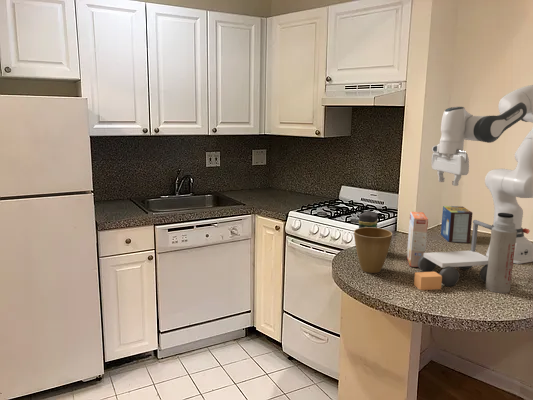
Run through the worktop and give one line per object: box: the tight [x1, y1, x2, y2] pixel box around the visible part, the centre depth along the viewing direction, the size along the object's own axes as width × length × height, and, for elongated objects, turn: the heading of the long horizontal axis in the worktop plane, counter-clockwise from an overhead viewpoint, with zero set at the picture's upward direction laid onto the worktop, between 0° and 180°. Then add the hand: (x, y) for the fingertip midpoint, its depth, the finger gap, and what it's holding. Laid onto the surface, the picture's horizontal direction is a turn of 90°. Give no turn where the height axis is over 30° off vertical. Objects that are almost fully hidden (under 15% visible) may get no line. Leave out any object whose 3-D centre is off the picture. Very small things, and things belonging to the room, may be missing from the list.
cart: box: [417, 219, 494, 287], centre depth 175 cm, size 24×17×21 cm
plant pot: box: [353, 227, 393, 274], centre depth 182 cm, size 15×15×16 cm
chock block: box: [413, 271, 443, 291], centre depth 166 cm, size 8×5×5 cm, turn 99°
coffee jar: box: [358, 210, 379, 228], centre depth 207 cm, size 10×8×19 cm
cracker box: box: [406, 211, 429, 268], centre depth 192 cm, size 14×6×21 cm, turn 168°
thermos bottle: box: [485, 213, 517, 294], centre depth 163 cm, size 8×8×28 cm
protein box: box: [440, 205, 473, 244], centre depth 231 cm, size 10×15×16 cm
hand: (448, 183), depth 181 cm, fingers open, 8 cm apart
